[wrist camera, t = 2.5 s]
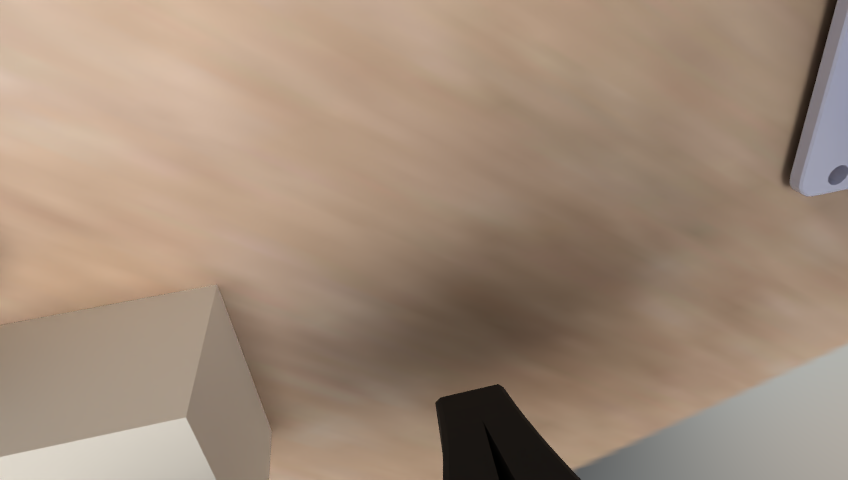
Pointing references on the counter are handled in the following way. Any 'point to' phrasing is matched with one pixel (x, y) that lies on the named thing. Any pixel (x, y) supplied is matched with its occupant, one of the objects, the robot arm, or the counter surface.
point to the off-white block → (131, 394)
